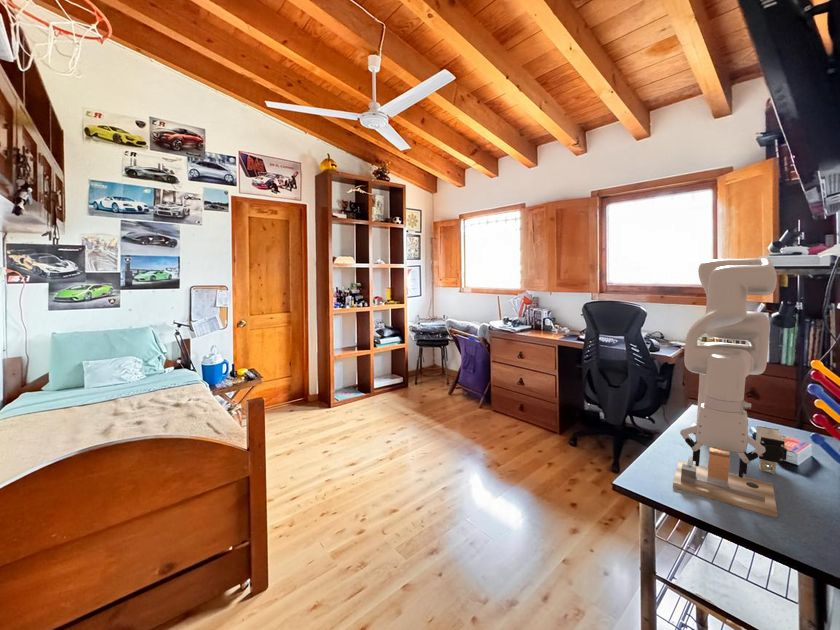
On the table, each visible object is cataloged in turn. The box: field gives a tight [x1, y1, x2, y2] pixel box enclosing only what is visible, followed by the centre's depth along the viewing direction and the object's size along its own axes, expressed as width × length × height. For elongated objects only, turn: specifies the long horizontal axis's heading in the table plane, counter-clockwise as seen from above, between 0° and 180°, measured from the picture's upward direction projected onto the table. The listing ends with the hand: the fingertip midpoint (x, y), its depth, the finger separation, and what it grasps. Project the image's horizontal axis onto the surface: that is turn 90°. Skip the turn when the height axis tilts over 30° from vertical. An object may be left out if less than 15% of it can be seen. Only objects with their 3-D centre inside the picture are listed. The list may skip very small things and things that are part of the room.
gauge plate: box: [672, 455, 778, 518], centre depth 98 cm, size 14×20×5 cm
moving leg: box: [707, 447, 731, 488], centre depth 97 cm, size 9×4×9 cm, turn 140°
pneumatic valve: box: [755, 425, 788, 475], centre depth 105 cm, size 6×12×12 cm, turn 144°
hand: (718, 469), depth 95 cm, fingers open, 8 cm apart
